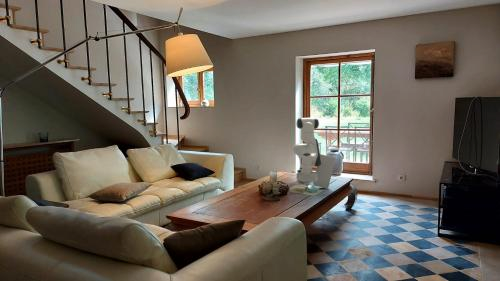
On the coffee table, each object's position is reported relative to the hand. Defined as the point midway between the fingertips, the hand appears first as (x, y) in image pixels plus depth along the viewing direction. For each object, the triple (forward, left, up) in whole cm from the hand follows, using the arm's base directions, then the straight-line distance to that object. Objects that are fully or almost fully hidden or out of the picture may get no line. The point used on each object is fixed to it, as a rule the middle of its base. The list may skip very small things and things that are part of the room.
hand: (306, 185), depth 319 cm
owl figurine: (+38, -15, -6) cm, 41 cm away
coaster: (0, +4, -4) cm, 6 cm away
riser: (0, -7, -6) cm, 9 cm away
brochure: (-18, +5, -4) cm, 19 cm away
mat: (0, +6, -6) cm, 8 cm away
